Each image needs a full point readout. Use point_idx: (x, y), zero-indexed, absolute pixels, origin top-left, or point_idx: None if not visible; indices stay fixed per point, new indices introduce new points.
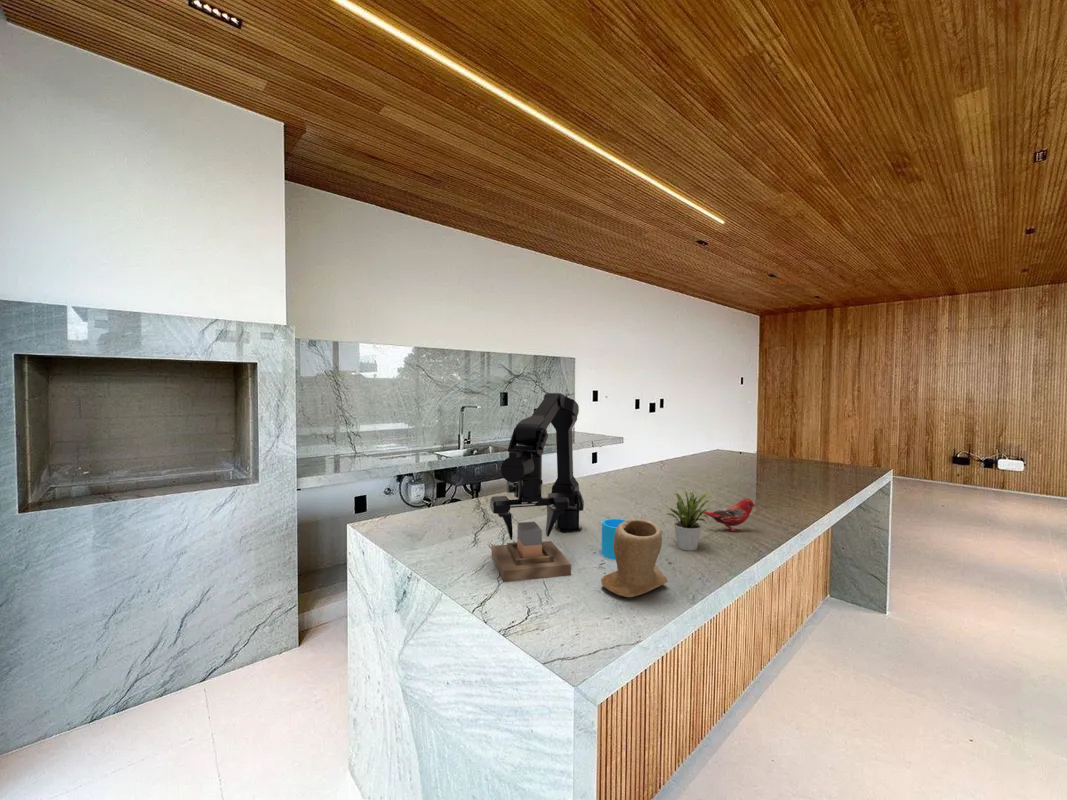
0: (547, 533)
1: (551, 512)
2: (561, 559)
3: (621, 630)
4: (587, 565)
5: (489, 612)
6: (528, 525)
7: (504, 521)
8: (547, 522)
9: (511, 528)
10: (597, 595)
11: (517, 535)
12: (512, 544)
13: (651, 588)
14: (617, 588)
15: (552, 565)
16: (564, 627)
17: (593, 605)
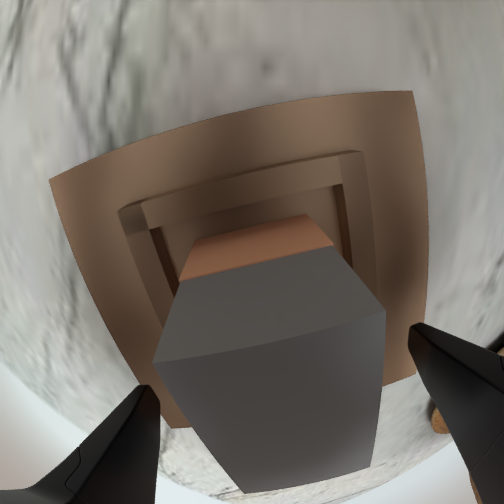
0: (417, 364)
1: (496, 492)
2: (403, 342)
3: (383, 475)
4: (470, 274)
5: (180, 475)
6: (288, 427)
7: (65, 469)
8: (465, 394)
9: (151, 487)
10: (407, 422)
11: (179, 287)
12: (156, 227)
13: None
14: (441, 431)
15: None
16: (308, 488)
17: (380, 448)
